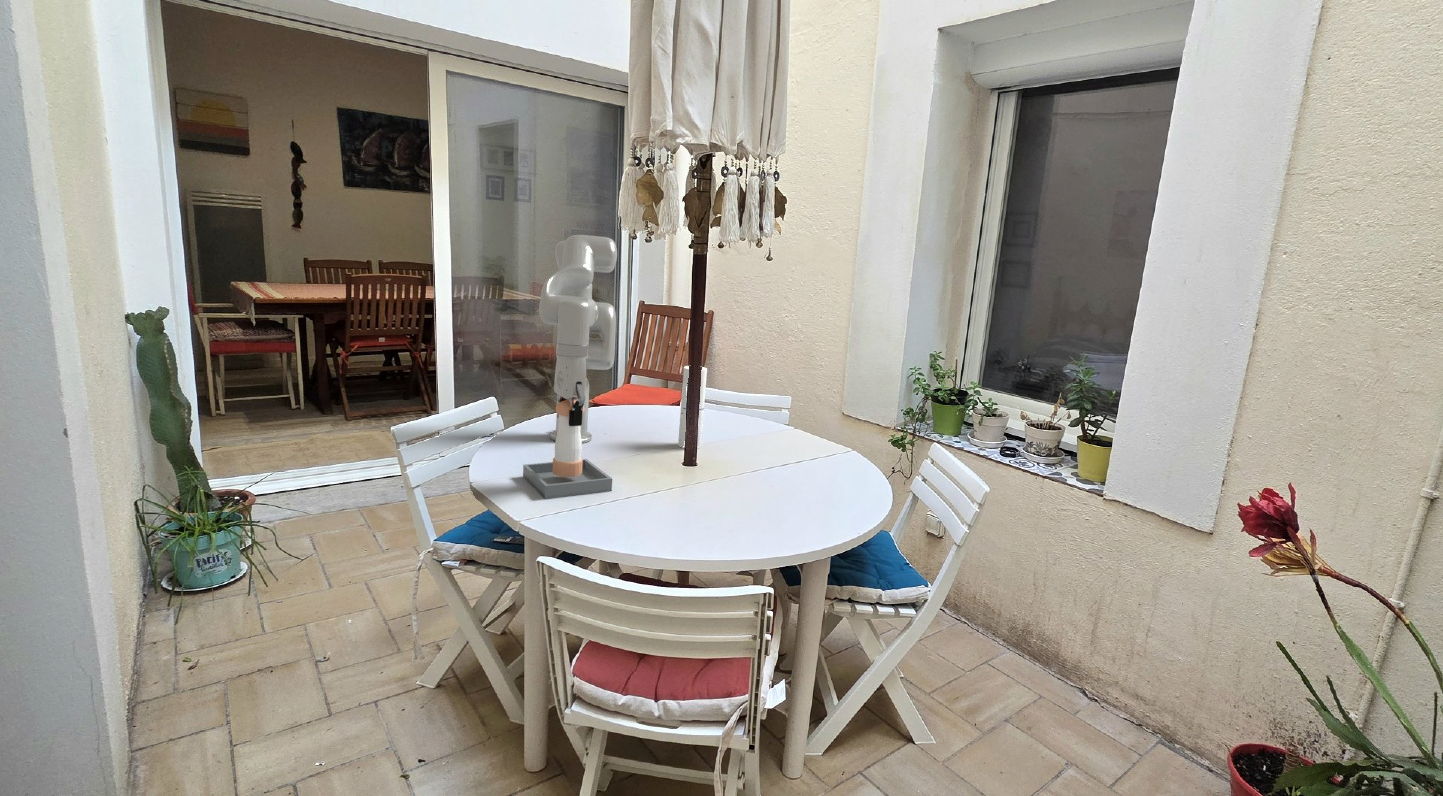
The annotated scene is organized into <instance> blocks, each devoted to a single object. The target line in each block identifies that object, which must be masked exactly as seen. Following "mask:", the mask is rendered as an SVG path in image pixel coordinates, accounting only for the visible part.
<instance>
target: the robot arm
mask: <svg viewBox="0 0 1443 796" xmlns="http://www.w3.org/2000/svg"><path fill="white" fill-rule="evenodd" d="M554 254H555V260H556V264H557V268H558V270H557V271H556V272H555V273H553V274H551V276H549V277H548V278H547V279H546V280H545V281H544V284H543V285H542V287H541V291H540V298H539V306H538V307H539V308H538V309H539V310H538V312H539V313H538V314H539V318H540V320H541V321H542V322H543V323H544V324H546V325H550V326H557V332H556V347H555V357H556V363H555V370H554V380H553V381H554V382H553V391H554V392H555V394H556V396H557V397H556V398H557V399H556V405H557V404H558V403H559V402H562V401H565V400H567V399H570V406H571V410H569V426H581V429H580V433H581V442H582V444H583V443H588V442H590V441H592V439H593V434H592V433H591V432H589V431H588V423H589V422H588V421H589V420H588V419H589V401H590V382H589V379H588V378H587V370H598V371H607V370H610V369H612V368H613V366H614V363H615V356H616V353H615V352H616V335H617V333H616V332H617V313H616V309H615V307H614V305H612V304H611V303H608V302H601V301H600V302H599V301H595V300H594V299H593V283H592V282H593V280H594V277H595V276H594V274H595V273H607V274H608V273H612V272H613V271H614V269H615V267H616V264H617V261H618V249H617V244H616V242H615V240H613V239H612V238H610V237H608V236H598V235H587V234H574V235H570V236H569V237H567V239H565V240H561V241H559V242H557V243H556V245H555V248H554ZM594 272H595V273H594ZM590 334H595V335H598V336H600V338H596V337H595V338H594V337H590ZM574 401H576V402H575V404H574ZM583 406H584V409H585V411H584V413H583V414H582V412H583ZM558 417H559V414H557V413H556V418H555V420H556V422H555V431H552V432H551V433H550V439H551V440H552V441H555V442H556V437H557V432H558Z"/></svg>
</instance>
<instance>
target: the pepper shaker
mask: <svg viewBox="0 0 1443 796" xmlns="http://www.w3.org/2000/svg"><path fill="white" fill-rule="evenodd" d="M575 402H576V401H574V404H575ZM569 410H571V406H570V399H567V400H565V401H562V402H559V403H558V404H557V403H556V406H555V411H556V415H557V414H559V417H558V432H557V437H556V441H555V442H554V457H553V458H552V462H553V474H554V475H557V476H561V477H575V476H579V475H581V474H582V464H583V460H582V459H583V458H582V453H583V443H582V442H581V433H580V429H581V426H569ZM584 411H585V409H584V406H583V412H582V414H583V413H584Z"/></svg>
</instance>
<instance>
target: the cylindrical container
mask: <svg viewBox="0 0 1443 796" xmlns="http://www.w3.org/2000/svg"><path fill="white" fill-rule="evenodd" d="M689 366H690V365H685V366H684V367H683V374H682V375H683V377H682V390H681V403H680V414H679V415H680V418H679V429H678V441H677V442H678V443H677V447H678V446H680V447H682V448H681V449H683V446H684V441H685V432H686V386H687V383H688V378H689ZM701 367H702V370H701V393H700V404H699V426H698V446H699V448H700V446H701V447H702V437H703V436H702V434H703V424H704V423H703V422H704V413H705V412H704V411H705V400H706V399H705V398H706V390H707V389H706V388H707V374H708V368H707V367H703V366H701ZM680 447H679V448H680ZM700 449H701V448H700Z"/></svg>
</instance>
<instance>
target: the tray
mask: <svg viewBox="0 0 1443 796" xmlns="http://www.w3.org/2000/svg"><path fill="white" fill-rule="evenodd" d="M582 460H583V464H582V474H581V475H579V476H575V477H561V476H557V475H554V474H553V461H550V462H538V463H528V464H522V465H523V466H522V467H523V471H522V477H523V478H524V479H525V481H527V483H528V484H530V485H531V486H532V487H533V488H534V489H535V490H536V491H537V493H539V494H540V495H541V497H542V498H543V499H544V500H547V499H554V498H555V499H556V498H564V497H571V496H581V495H588V494H589V495H590V494H596V493H597V494H598V493H604V492H605V493H606V492H612V490H613V478H612V477H611V476H610V475H609V474H607V473H606V472H604V471H603V470H602V469H600V468H599V467H597V466H596V465H595V464H594V463H593V462H591V461H590V460H588V458H582Z"/></svg>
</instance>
